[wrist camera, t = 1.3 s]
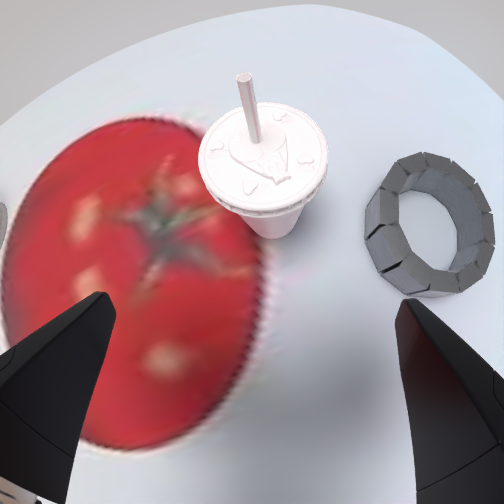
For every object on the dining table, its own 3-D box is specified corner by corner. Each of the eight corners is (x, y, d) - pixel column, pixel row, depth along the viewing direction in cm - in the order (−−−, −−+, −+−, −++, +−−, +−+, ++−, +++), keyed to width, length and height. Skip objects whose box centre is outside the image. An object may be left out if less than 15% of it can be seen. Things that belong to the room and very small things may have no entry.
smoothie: (287, 167, 23) (280, 24, 10) (329, 231, 22) (381, 112, 8) (218, 203, 23) (145, 80, 10) (256, 272, 22) (204, 198, 8)
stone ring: (484, 265, 19) (510, 255, 15) (397, 319, 19) (419, 319, 16) (434, 163, 22) (452, 141, 18) (343, 198, 22) (353, 176, 18)
